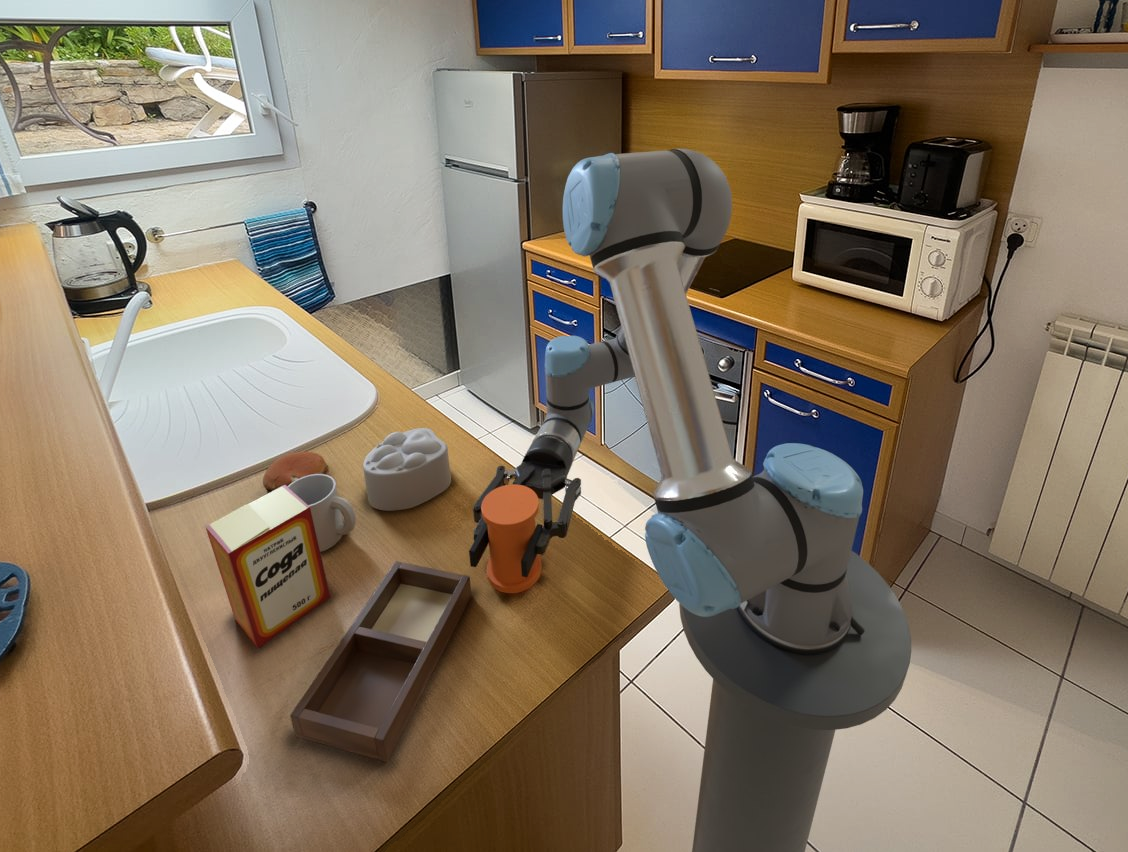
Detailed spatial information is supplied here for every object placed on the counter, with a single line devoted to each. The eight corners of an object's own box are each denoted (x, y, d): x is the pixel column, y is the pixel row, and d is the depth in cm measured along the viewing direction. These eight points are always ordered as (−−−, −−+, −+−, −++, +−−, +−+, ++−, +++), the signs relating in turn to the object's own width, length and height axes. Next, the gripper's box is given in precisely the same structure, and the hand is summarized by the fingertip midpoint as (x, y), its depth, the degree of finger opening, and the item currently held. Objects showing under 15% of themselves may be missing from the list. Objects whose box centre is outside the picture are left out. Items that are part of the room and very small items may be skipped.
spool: (548, 554, 87) (546, 488, 82) (531, 598, 80) (527, 529, 75) (499, 545, 88) (494, 480, 84) (478, 587, 81) (471, 519, 77)
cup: (310, 517, 94) (300, 471, 91) (370, 523, 93) (362, 477, 90) (282, 553, 88) (270, 505, 84) (347, 560, 87) (337, 512, 83)
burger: (314, 459, 107) (310, 438, 105) (339, 483, 102) (335, 461, 100) (256, 487, 100) (250, 465, 99) (279, 515, 95) (273, 492, 93)
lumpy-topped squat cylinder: (457, 485, 102) (453, 443, 98) (383, 522, 93) (376, 478, 90) (429, 455, 109) (424, 415, 105) (357, 488, 101) (350, 446, 97)
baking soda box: (306, 572, 85) (284, 482, 78) (330, 597, 81) (309, 504, 75) (234, 618, 78) (204, 524, 72) (257, 648, 74) (227, 551, 68)
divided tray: (471, 595, 81) (469, 575, 80) (387, 762, 63) (382, 740, 61) (398, 580, 84) (395, 560, 82) (295, 736, 65) (289, 715, 63)
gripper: (608, 481, 97) (570, 599, 77) (497, 464, 101) (432, 571, 80) (609, 443, 95) (569, 555, 74) (494, 427, 98) (426, 528, 78)
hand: (498, 563), depth 77 cm, fingers closed on spool, 6 cm apart
